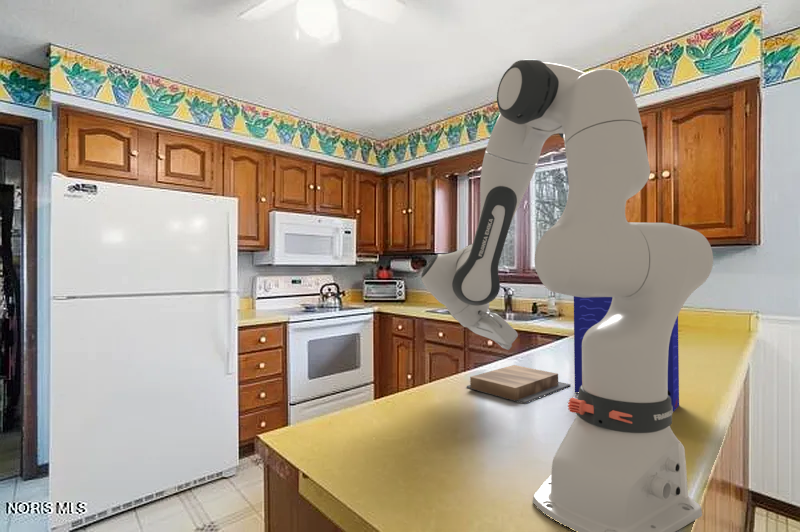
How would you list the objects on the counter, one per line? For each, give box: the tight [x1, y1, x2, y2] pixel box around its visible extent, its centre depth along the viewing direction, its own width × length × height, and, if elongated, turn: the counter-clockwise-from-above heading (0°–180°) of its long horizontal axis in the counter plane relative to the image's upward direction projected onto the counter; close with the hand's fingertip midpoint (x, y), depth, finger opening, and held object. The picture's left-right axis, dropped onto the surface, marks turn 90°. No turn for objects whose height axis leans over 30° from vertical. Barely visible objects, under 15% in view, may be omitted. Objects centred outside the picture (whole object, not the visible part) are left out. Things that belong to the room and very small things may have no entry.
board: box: [469, 364, 559, 401], centre depth 112 cm, size 3×14×20 cm
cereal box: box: [573, 296, 680, 413], centre depth 103 cm, size 22×6×30 cm, turn 46°
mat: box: [466, 381, 571, 404], centre depth 113 cm, size 22×18×1 cm
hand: (507, 346), depth 106 cm, fingers closed
